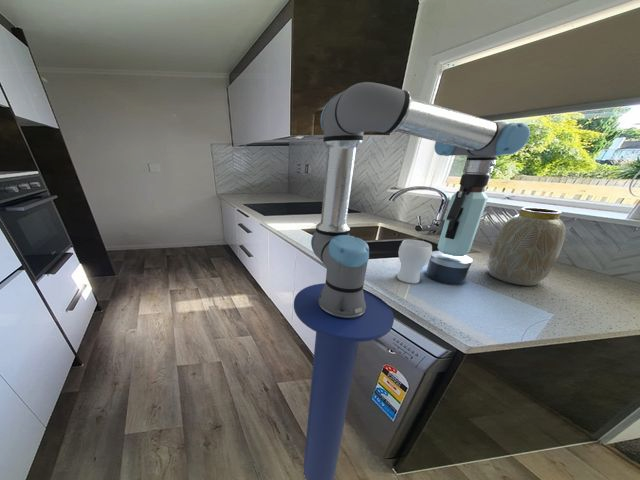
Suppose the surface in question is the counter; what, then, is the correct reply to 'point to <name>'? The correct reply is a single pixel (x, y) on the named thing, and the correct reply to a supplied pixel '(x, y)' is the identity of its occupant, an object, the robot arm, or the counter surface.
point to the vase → (527, 247)
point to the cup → (413, 259)
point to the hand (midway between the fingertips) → (457, 236)
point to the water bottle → (464, 223)
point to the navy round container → (448, 268)
